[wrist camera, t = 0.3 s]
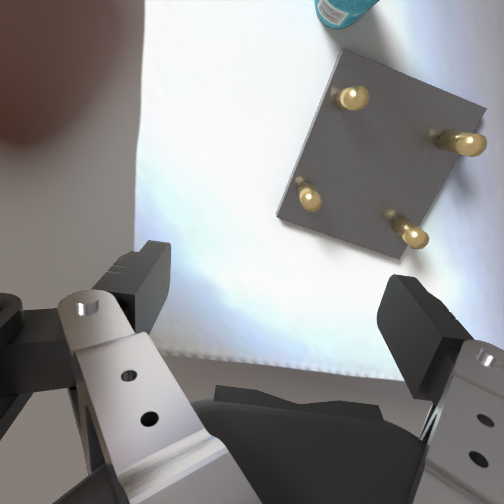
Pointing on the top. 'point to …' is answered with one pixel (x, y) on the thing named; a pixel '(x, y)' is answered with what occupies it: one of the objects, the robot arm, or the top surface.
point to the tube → (342, 11)
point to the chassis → (378, 156)
